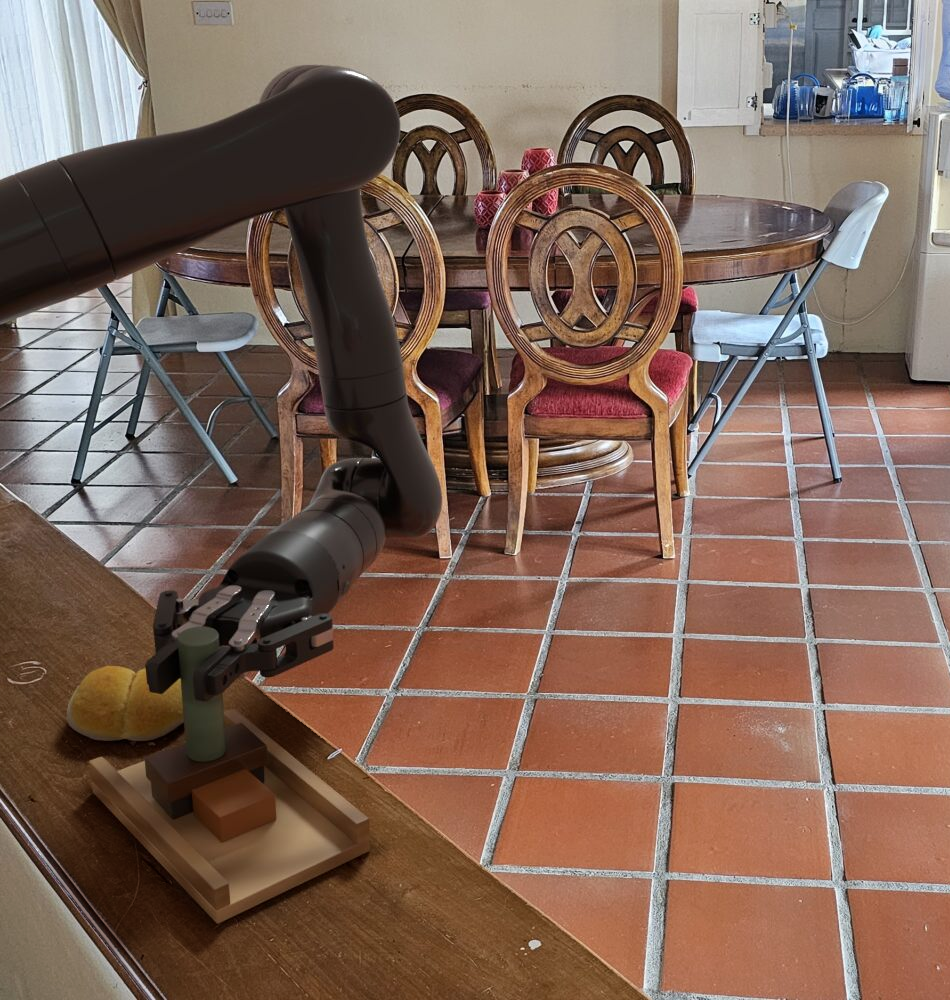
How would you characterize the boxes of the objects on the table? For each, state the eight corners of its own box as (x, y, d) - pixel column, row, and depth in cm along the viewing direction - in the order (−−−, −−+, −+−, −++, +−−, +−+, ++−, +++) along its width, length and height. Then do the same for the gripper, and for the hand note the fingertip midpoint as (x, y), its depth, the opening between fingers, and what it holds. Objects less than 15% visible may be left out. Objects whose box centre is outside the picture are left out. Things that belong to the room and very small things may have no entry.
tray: (92, 792, 90) (88, 760, 90) (235, 737, 98) (233, 707, 97) (217, 924, 78) (214, 889, 77) (370, 851, 86) (369, 818, 85)
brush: (147, 796, 88) (132, 640, 83) (244, 759, 93) (235, 609, 88) (171, 823, 86) (157, 664, 81) (269, 783, 91) (261, 630, 86)
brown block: (193, 814, 87) (191, 789, 86) (247, 792, 89) (245, 768, 89) (221, 843, 84) (219, 817, 83) (277, 819, 87) (275, 794, 86)
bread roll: (185, 745, 96) (180, 698, 95) (60, 748, 95) (53, 701, 94) (205, 688, 104) (201, 644, 102) (90, 690, 103) (84, 646, 102)
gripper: (208, 517, 98) (71, 617, 83) (381, 541, 95) (273, 648, 80) (216, 606, 101) (84, 719, 85) (384, 631, 98) (280, 752, 83)
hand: (176, 684), depth 83 cm, fingers closed on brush, 2 cm apart
